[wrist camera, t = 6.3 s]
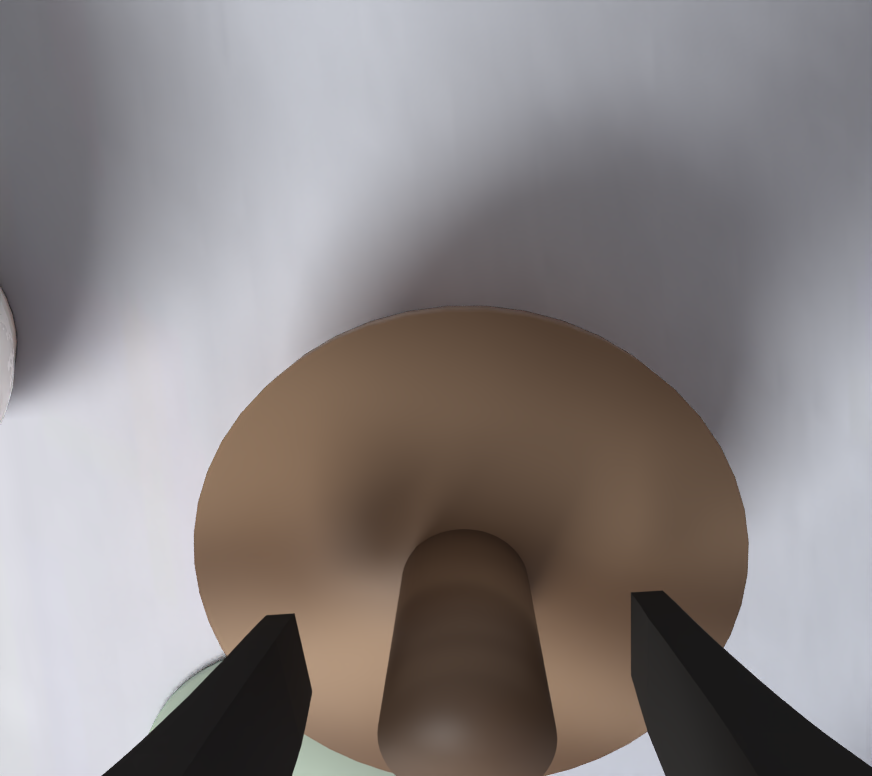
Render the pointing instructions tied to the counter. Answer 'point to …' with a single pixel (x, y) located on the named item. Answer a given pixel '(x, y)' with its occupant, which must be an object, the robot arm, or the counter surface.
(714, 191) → the counter surface
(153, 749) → the robot arm
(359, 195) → the counter surface
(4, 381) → the lidded jar
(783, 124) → the counter surface
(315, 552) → the lid
